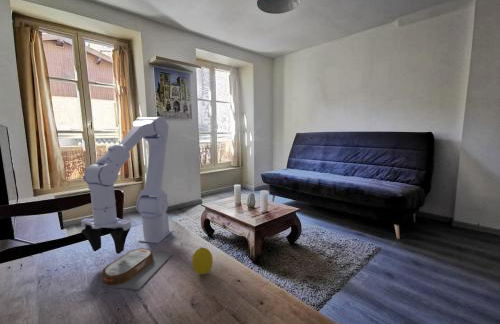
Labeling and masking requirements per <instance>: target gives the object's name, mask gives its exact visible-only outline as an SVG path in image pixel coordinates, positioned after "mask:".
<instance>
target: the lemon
mask: <svg viewBox="0 0 500 324" xmlns="http://www.w3.org/2000/svg"><path fill="white" fill-rule="evenodd" d="M213 259H214V258H213V255H212V253H211V251H210V250H209V248H206V247H203V246H202V247H200V248H198V249H197V250H195V251H194V253H193V255H192V261H191V263H192V264H191V265H192V268H193V270H194V272H195V273H196V274H199V275H202V276H204V275H205V274H207V273H209V272H210V271H211V269H212V267H213V262H214V261H213Z"/></svg>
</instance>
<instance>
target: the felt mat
mask: <svg viewBox="0 0 500 324" xmlns="http://www.w3.org/2000/svg"><path fill="white" fill-rule="evenodd" d="M152 254H153V262H152V263H151V264H150V265H149V266H147V267H146V268H145V269H144V270H142V271H141V272H140V273H139V274H137V275H136V276H135V277H133V278H132V279H131V280H129V281H127V282H125V283H123V284H120V285H113V286H109V285H105V284H104V283H103V282H101V283H100V286H103V287H108V288H109V287H111V288H118V289H124V290H125V289H126V290H131V291H132V290H133V291H140V290H141V289H142V288H143V287H144V286H145V284H147V283H148V282H149V281H150V279H151V278H152V277H153V276H154V275H155V274H156V273H158V271H159V270H160V269H161V268H162V266H164V265H165V263H167V261H168V260H169V259H170V258H171V257H172V256H173V253H168V252H167V253H166V252H158V251H152Z"/></svg>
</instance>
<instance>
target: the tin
mask: <svg viewBox="0 0 500 324" xmlns="http://www.w3.org/2000/svg"><path fill="white" fill-rule="evenodd" d="M152 252H153V251H152V249H149V248H141V247H140V248H135V249H132V250H130V251H128V252H126V253H124V254H123V255H121V256H120V257H118V258H116V260H113V261H112V262H110V263H109V264H107V265H106V266H105V267H104V268H103V270H102V271H101V275H102V279H101V281H102V282H101V283H104V284H105V285H109V286H113V285H120V284H123V283H125V282H127V281H129V280H131V279H132V278H133V277H135V276H136V275H137V274H139V273H140V272H141V271H142V270H144V269H145V268H146V267H147V266H149V265H150V264H151V263H152V262H153V254H152Z"/></svg>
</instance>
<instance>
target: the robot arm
mask: <svg viewBox="0 0 500 324" xmlns="http://www.w3.org/2000/svg"><path fill="white" fill-rule="evenodd" d="M168 133H169V124H168V122H167V120H166V119H165V117H163V116H153V117H152V116H151V117H149V116H148V117H143V116H138V117H137V118H136V119H135V121H133V122H132V127H131V128H130V129H129V131H128V132H127V133H126V135H125V136H124V138H123V139H122V140H121V142H120V143H119V144H113V145H109V147H107V150H106V152H104V154H103V155H102V156H101V157H100V158H98V159H97V162H96V163H94V164H90V165H89V166H87V168H86V169H85V171H84V174H83V175H82V179H83V181H84V182H85V184H87V187H88V190H89V191H90V193H89V194H90V201H91V208H92V217H86V218H84V219H81V220H80V222H81V223H80V224H81V228H83V229H82V230H81V234H82V235H83V236H84V238H86V239H87V241H88V242H89V244H90V246H91V248H92V251H93V252H97V251H99V250H100V249H101V248H102V229H105V228H107V229H115V230H113V231H111V232H110V236H111V238H112V240H113V242H114V248H115V252H116V255H119V254H121V253H122V252H124V250H125V246H126V245H125V244H126V240H127V237H128V234H129V232H130V230H131V228H132V225H131V221H130V220H125V219H122V218H119V217H117V215H118V214H117V205H116V195H115V185H114V183H116V182H117V181H118V178H119V172H120V170H121V168H122V167H123V166H124V165H125V163H126V162H127V161H128V160H129V159H130V158H131V156H130V155H131V153H130V151H132V149H133V148H135V146H136V145H137V144H138V143H140V142H141V140H142V139H144V140H145V141H146V142H148V144H149V145H150V146H149V147H150V148H149V154H148V155H149V156H148V162H147V163H148V164H147V173H146V181H145V188H143V189H142V190H141V191H139V193H138V198H137V200H136V202H135V209H136V210H137V212H138V213H139V215H140V216H141V219H142V220H141V221H142V232H143V233H142V234H143V236H142V237H140V238H139V239H138V242H139V243H140V242H142V243H153V244H159V243H160V242H162V240H163V239H165V238H166V237H168V235H169V234H171V233H172V230H170V224H169V223H170V222H169V215H168V212H167V211H168V207H169V202H168V194H167V192H165V191H164V190H163V188H162V186H163V185H162V184H163V176H164V168H165V159H166V158H165V157H166V150H167V141H168V136H169V135H168Z"/></svg>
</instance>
